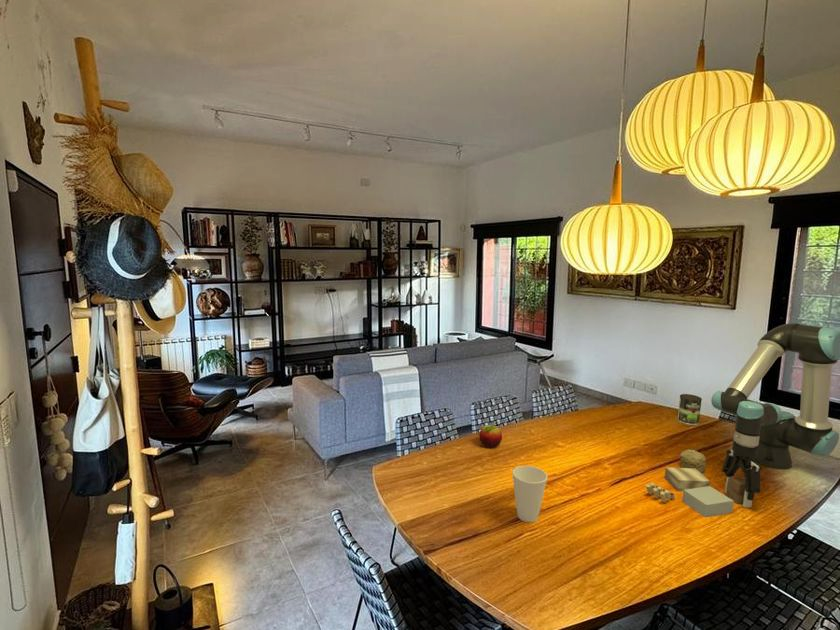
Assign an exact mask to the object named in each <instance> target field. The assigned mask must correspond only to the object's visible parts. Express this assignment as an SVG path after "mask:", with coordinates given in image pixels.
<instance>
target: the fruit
mask: <svg viewBox="0 0 840 630" xmlns="http://www.w3.org/2000/svg"><path fill="white" fill-rule="evenodd" d="M478 435H479V441H480V443H481V444H482V445H483V447H486V448H490V449H491V448H493V449H494V448H496V447H498V446H499V445H500V444H501V442H502V439H503V434H502V431H501V429H500V428H499V427H497V425H493V424H486V425H483V426H481V428H480V431H479V434H478Z"/></svg>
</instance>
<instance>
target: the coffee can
mask: <svg viewBox="0 0 840 630" xmlns="http://www.w3.org/2000/svg"><path fill="white" fill-rule="evenodd" d="M702 401H703V399H702V397H700V396H698V395H694V394H689V393H688V394H687V393H682V394H680V395H679V403H678V412H677V421H678V422H679V423H681V424H684V425H688V426H689V425H690V426H697V425H699V424H700V423H699V422H700V418H701V417H700V416H701V407H702Z"/></svg>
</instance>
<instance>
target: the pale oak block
mask: <svg viewBox="0 0 840 630" xmlns="http://www.w3.org/2000/svg"><path fill="white" fill-rule="evenodd" d="M664 470H665V471H664V479H665V480H666V481H667V483H669V484H670V485H671V486H672V487H673V489H674V490H675V491H677V492H682V491H683V490H686V489H693V488H700V487H707V486H710V487H711V481H710V479H708V478H707V477H706V476H705V475H704V474H703V473H700V472H699V471H698V470H697V469H696V468H682V467H667V466H666V467H665V469H664Z"/></svg>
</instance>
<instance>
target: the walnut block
mask: <svg viewBox="0 0 840 630" xmlns="http://www.w3.org/2000/svg"><path fill="white" fill-rule="evenodd" d="M745 490H747V487H746V481H745V477H743V476H732V477H729V483H728V491H727V494H726V496H727V497H728V498H730V499H732V500H733V501H734V503H733V504H736V505H743V500H744V493H745Z"/></svg>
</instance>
